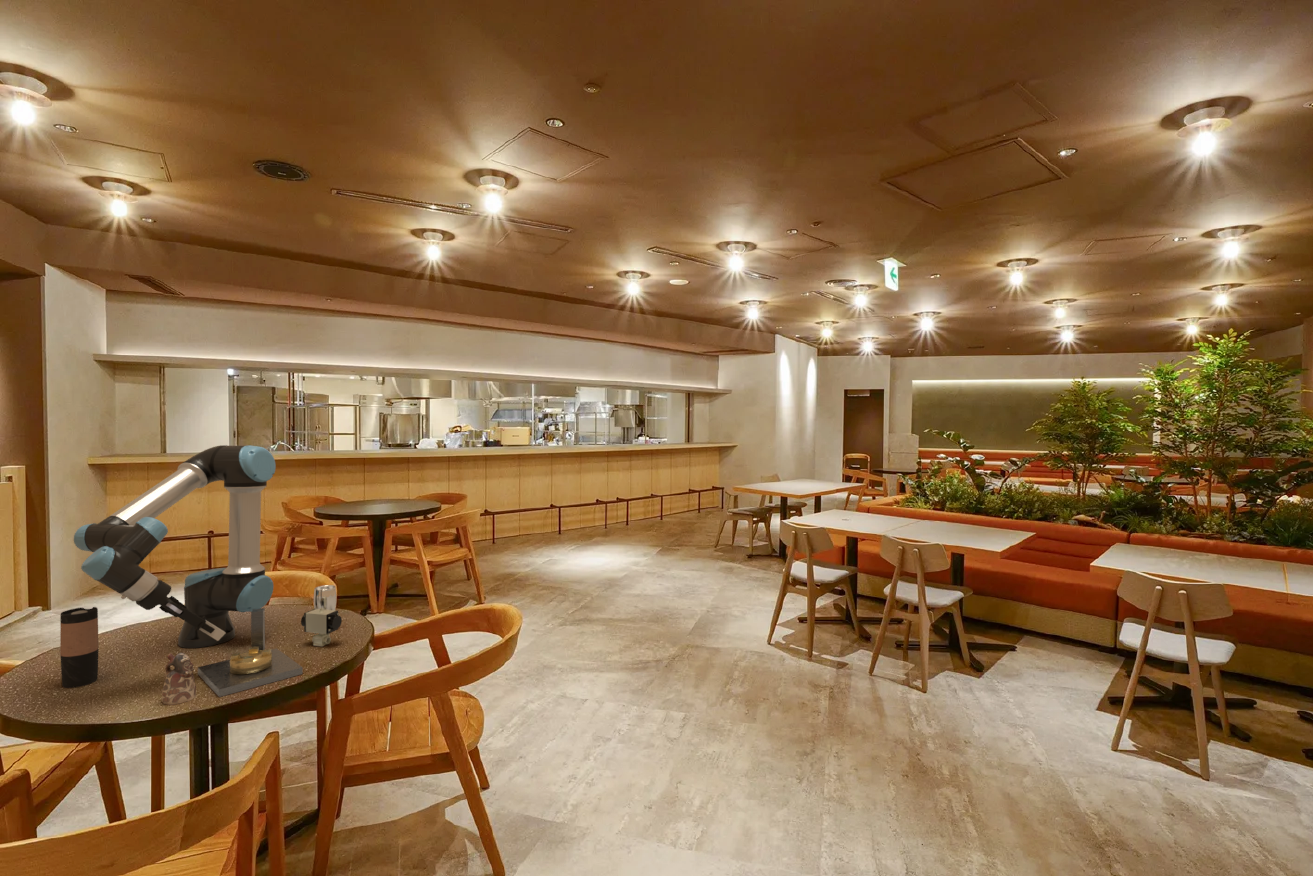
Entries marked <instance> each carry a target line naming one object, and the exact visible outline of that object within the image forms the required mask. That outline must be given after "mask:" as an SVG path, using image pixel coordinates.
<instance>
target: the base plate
mask: <svg viewBox="0 0 1313 876" xmlns="http://www.w3.org/2000/svg"><path fill="white" fill-rule="evenodd" d="M271 652H272V665H271V666H270V667H268V668H266V669H264V670H261V671H258V672H254V673H249V674H233V673H231V672H230V659H226V660H222V661H219V662H218V661H217V662H214V663H213V662H212V663H210V664H206V665H200V666H198V667H197V675H198V676H199V677H200V678H201V680H202V681H204V682H205V684H206V685H207V686H208V687H209V688H210V689H211V690H212V691H213V692H214V694H216V695H217V697H218V698H221V697H225V696H228V695H232V694H235V693H239V692H243V691H246V690H250V689H254V688H259V687H260V686H264V685H268V684H272V683H274V682H275V683H276V682H279V681H283V680H286V679H290V678H293V677H297V676H301V675H303V672H304V671H303V666H302V665H300V664H299V663H298V662H296V661H295V660H294V659H292V658H291V657H289V656H288V655H287V654H285V653H284V652H282V651H281V650H280V649H278V648H271Z"/></svg>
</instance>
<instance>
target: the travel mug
mask: <svg viewBox="0 0 1313 876" xmlns="http://www.w3.org/2000/svg"><path fill="white" fill-rule="evenodd" d="M98 614H99V608H98V607H96V606H94V607H92V608H84V607H77V608H71V609H67V610H64V611H62V612H61V613H60V618H59V619H60V623H59V624H60V627H59V628H60V630H59V631H60V635H59V636H60V642H59V643H60V668H61V669H60V672H61V686H62V688H66V689H67V688H68V689H71V688H72V689H73V688H79V687H83V686H87V685H90V684H93V683H95V682H96V681H97V680H98V677H99V676H98V675H99V650H100V649H99V644H100V643H99V615H98ZM92 682H93V683H92Z"/></svg>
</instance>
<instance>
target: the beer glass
mask: <svg viewBox="0 0 1313 876" xmlns="http://www.w3.org/2000/svg"><path fill="white" fill-rule="evenodd" d="M336 589H337V588H336V585H333V584H324V585H319V586H316V587H314V591H313V606H314V607H313V608H314V609H320V608H323V609H324V610H326V609H327V610H336V608H337V590H336Z"/></svg>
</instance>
